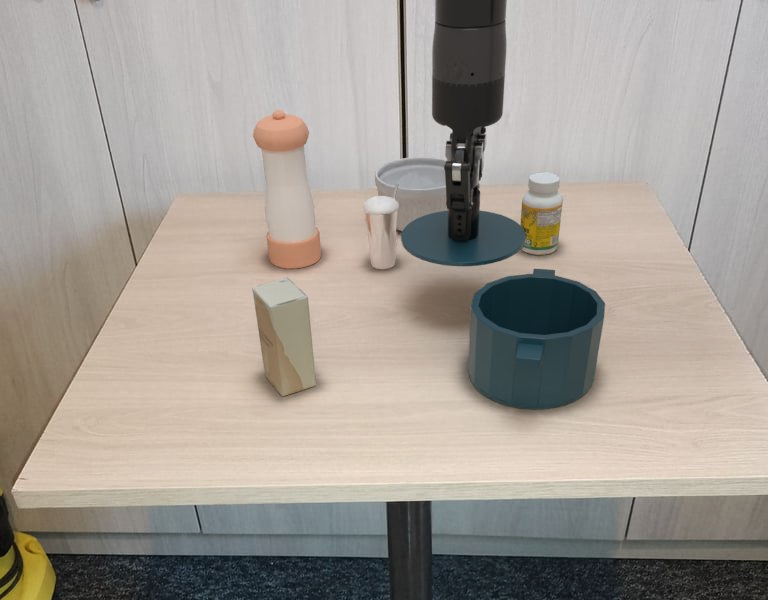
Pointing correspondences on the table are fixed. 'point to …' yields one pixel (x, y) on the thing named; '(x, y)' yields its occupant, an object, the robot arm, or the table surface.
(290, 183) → the pepper shaker
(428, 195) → the ramekin
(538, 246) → the supplement bottle
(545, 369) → the pot
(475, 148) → the robot arm
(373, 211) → the milkshake
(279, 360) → the box
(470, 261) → the lid
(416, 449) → the table surface
